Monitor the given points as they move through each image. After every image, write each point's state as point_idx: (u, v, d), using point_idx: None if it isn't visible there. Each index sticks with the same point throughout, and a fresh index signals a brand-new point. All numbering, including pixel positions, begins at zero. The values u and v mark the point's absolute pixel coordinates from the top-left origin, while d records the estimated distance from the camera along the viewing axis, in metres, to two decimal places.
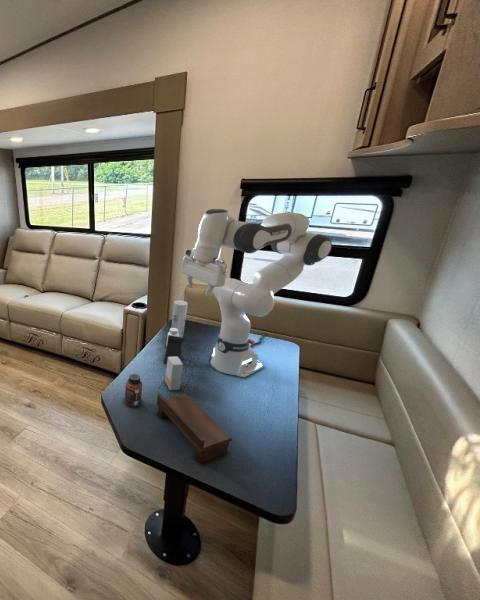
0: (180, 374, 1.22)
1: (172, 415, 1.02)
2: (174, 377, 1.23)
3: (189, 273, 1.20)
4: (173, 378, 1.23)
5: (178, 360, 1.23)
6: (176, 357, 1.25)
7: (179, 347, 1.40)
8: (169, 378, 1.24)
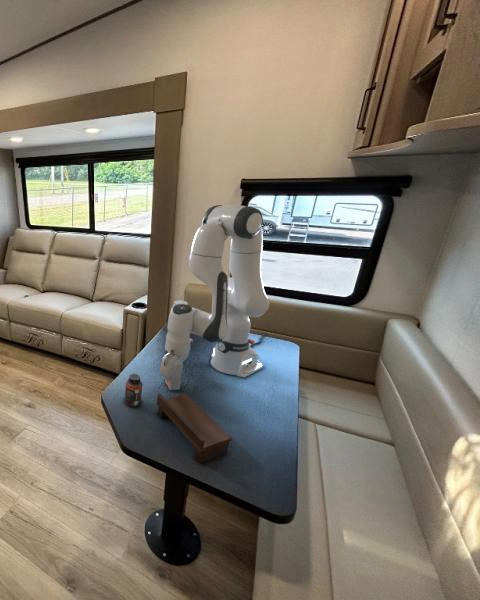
0: (180, 374, 1.22)
1: (172, 415, 1.02)
2: (174, 377, 1.23)
3: None
4: (173, 378, 1.23)
5: None
6: None
7: None
8: None
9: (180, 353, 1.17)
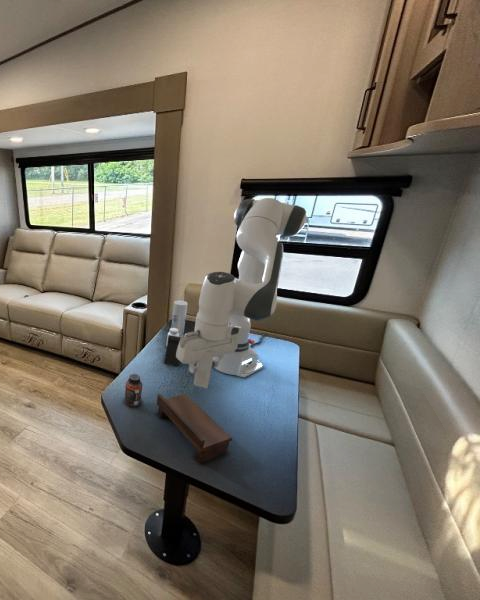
0: (209, 367, 0.92)
1: (172, 415, 1.02)
2: (200, 369, 0.93)
3: None
4: (198, 369, 0.94)
5: None
6: None
7: None
8: None
9: (208, 337, 0.88)
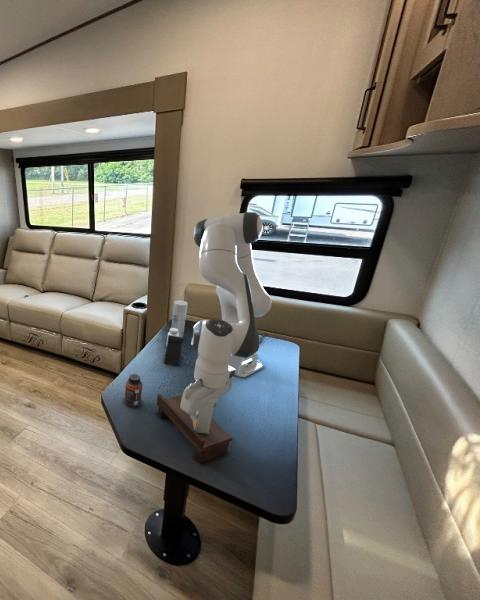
0: (210, 415, 0.93)
1: (172, 415, 1.02)
2: (201, 417, 0.94)
3: None
4: (200, 417, 0.94)
5: None
6: None
7: (179, 347, 1.40)
8: None
9: (211, 385, 0.88)
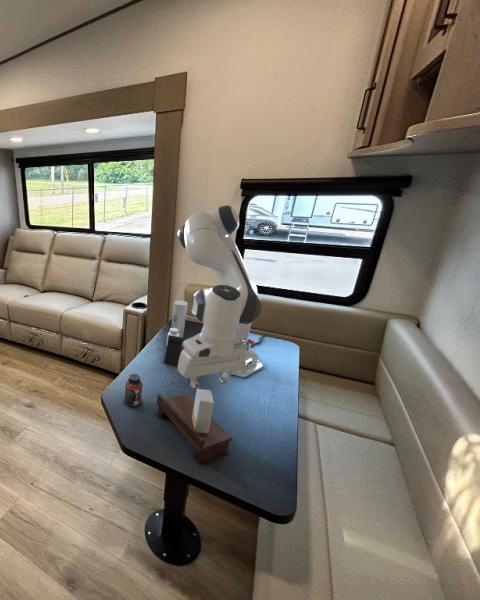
0: (210, 415, 0.93)
1: (172, 415, 1.02)
2: (201, 417, 0.94)
3: (201, 373, 0.88)
4: (200, 417, 0.94)
5: (209, 396, 0.94)
6: (208, 391, 0.96)
7: (179, 347, 1.40)
8: (195, 417, 0.96)
9: None
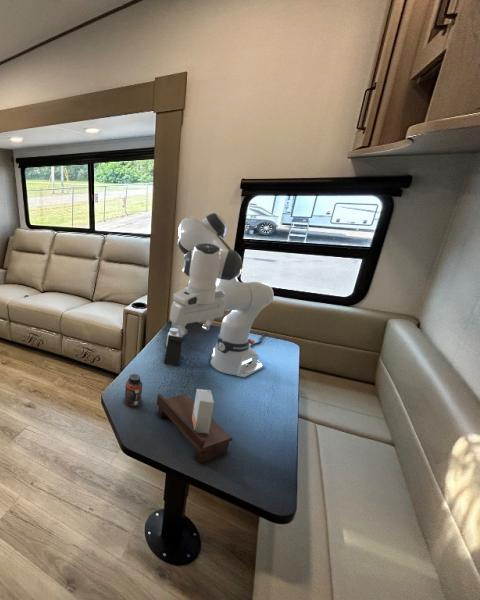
0: (210, 415, 0.93)
1: (172, 415, 1.02)
2: (201, 417, 0.94)
3: (190, 320, 1.04)
4: (200, 417, 0.94)
5: (209, 396, 0.94)
6: (208, 391, 0.96)
7: (179, 347, 1.40)
8: (195, 417, 0.96)
9: None
